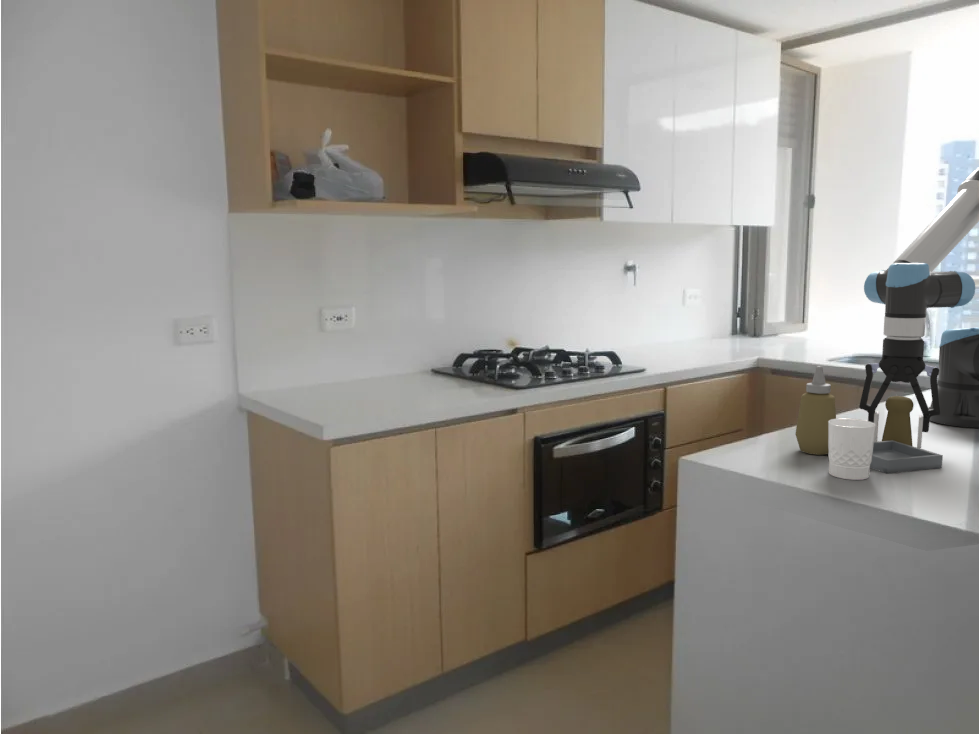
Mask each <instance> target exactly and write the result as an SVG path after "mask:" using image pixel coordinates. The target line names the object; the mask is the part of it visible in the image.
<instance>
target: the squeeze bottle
mask: <svg viewBox="0 0 979 734" xmlns="http://www.w3.org/2000/svg"><path fill="white" fill-rule="evenodd" d="M815 367H816V368H815V369H814V370H815V371H814V373H813V378H812V381H811V382H807V383H806V387H805V393H803V394H802V395H801V396H800V403H799V409H798V415H797V423H796V428H795V437H796V440H797V443H798V444H797V445H798V447H799V450H800V451H801V452H803V453H805V454H809V455H818V456H820V455H821V456H822V455H823V456H824V455H828V453H829V449H828V421H829V420H831V419H837V412H836V411H837V410H836V397H835V396H834V395H833V394H831V389H832V388H831V384H830V383H826V377H825V373H824V368H823V366H820V365H817V366H815Z"/></svg>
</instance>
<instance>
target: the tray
mask: <svg viewBox="0 0 979 734" xmlns="http://www.w3.org/2000/svg"><path fill="white" fill-rule="evenodd" d="M943 458H944V457H943V454H939V453H937V452H933V451H929V450H926V449H923V448H917V446H910V445H907V444H903V443H900V442H896V441H893V440H890V441H882V440H881V441H878V440H877V442H874V445H873V453H872V460H871V464H870V469H873V470H876V471H878V472H879V471H880V472H881V473H884V474H893V473H894V474H896V473H905V472H915V471H926V470H935V469H942V468H943Z"/></svg>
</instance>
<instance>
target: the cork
mask: <svg viewBox="0 0 979 734" xmlns="http://www.w3.org/2000/svg"><path fill="white" fill-rule="evenodd" d="M914 405H915V404H914V401H913V399H911V398H910V397H906V396H902V395H892V396H888V397H887V399H886V400H885V409H886V410H887V413H886V414H887V415H886V419H885V424H884V429H883V433H882V437H881V438H882V439H881V441H890V440H893V441H896V442H900V443H903V444H907V445H910V446H913V434H912V423H911V412H912V411H913V410H914V407H915V406H914ZM913 447H914V446H913Z"/></svg>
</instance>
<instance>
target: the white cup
mask: <svg viewBox="0 0 979 734" xmlns="http://www.w3.org/2000/svg"><path fill="white" fill-rule="evenodd" d="M875 427H876V424H875V423H873V422H870V421H868V420H864V419H857V418H847V417H846V418H845V417H844V418H836V419H831V420H829V421H828V449H829V453H828V454H827V455H828V460H829V461H828V473H829V474H830V476H833V477H834V478H838V479H844V480H850V481H859V480H860V481H861V480H866V479H868V478H869V477H870V472H871V468H870V464H871V460H872V453H873V445H874V435H875Z"/></svg>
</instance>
